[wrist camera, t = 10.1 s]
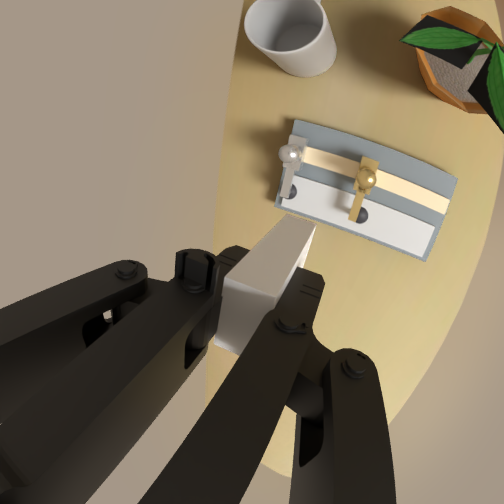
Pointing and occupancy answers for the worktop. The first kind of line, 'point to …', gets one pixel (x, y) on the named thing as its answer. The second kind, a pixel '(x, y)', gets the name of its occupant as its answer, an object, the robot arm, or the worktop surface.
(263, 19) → the mug
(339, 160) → the board
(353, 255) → the worktop surface
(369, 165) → the brass slider pointer
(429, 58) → the potted plant
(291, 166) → the fixed leg
